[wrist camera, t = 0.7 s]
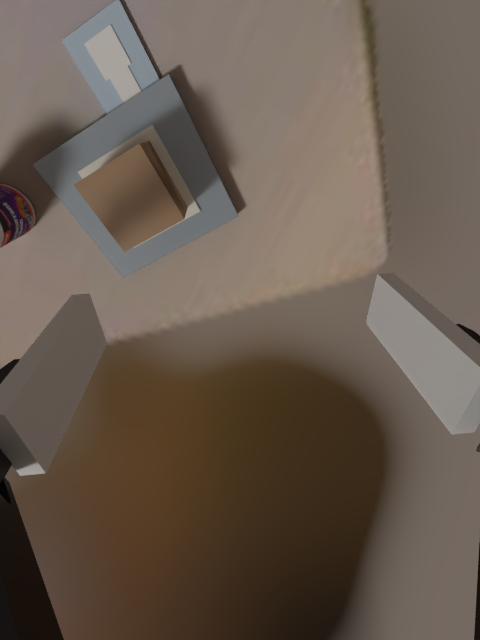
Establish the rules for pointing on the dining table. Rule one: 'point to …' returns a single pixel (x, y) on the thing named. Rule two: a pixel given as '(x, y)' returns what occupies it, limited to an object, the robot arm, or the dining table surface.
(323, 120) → the dining table surface
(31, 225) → the pill bottle
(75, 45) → the blueprint tile
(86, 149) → the board
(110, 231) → the walnut block
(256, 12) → the dining table surface
